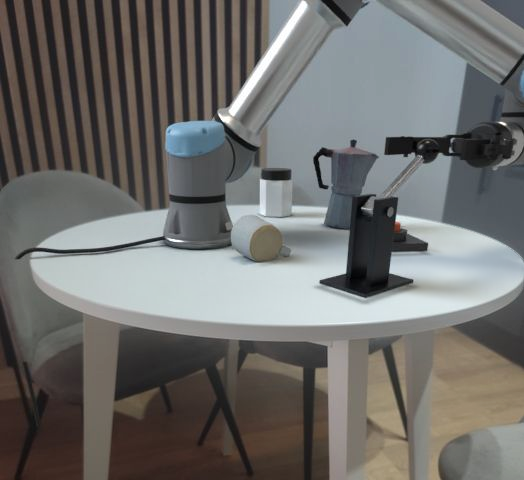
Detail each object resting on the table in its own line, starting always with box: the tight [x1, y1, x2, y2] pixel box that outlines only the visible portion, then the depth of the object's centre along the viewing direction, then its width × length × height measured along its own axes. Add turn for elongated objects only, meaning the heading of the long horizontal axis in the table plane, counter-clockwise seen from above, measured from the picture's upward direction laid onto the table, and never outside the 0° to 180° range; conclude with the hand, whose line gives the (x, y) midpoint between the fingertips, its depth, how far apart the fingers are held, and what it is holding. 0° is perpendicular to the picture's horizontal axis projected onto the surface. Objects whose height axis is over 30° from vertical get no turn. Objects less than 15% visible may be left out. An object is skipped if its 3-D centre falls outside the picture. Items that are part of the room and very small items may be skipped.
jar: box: [259, 167, 294, 218], centre depth 136 cm, size 9×8×12 cm
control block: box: [392, 227, 429, 253], centre depth 101 cm, size 12×10×4 cm
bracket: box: [318, 193, 414, 299], centre depth 76 cm, size 12×9×14 cm
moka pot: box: [312, 139, 380, 230], centre depth 120 cm, size 10×15×20 cm, turn 89°
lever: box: [361, 139, 440, 222], centre depth 75 cm, size 17×4×4 cm
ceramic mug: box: [231, 214, 292, 263], centre depth 92 cm, size 11×8×8 cm
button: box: [394, 221, 401, 232], centre depth 100 cm, size 4×4×2 cm
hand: (422, 147), depth 76 cm, fingers open, 13 cm apart
